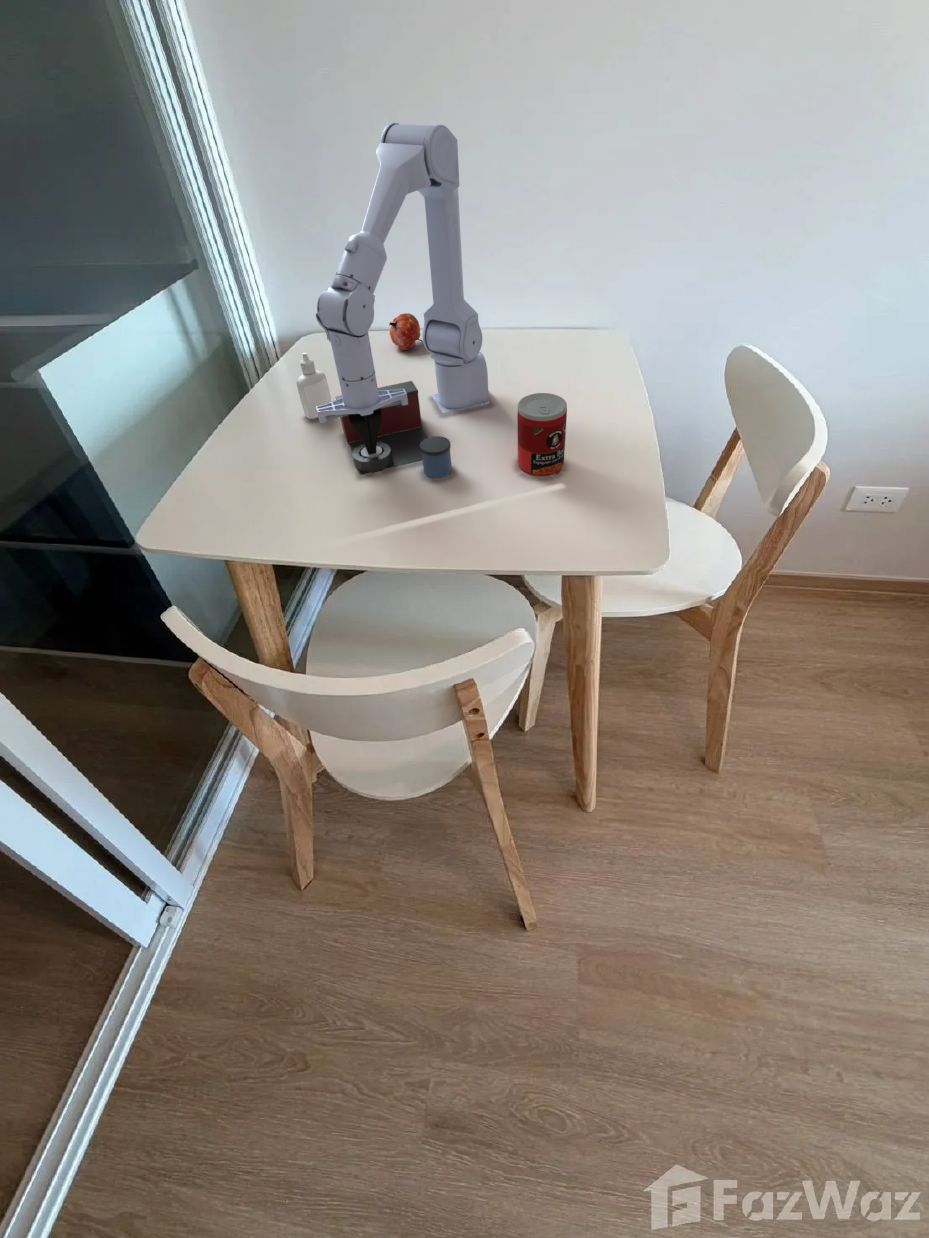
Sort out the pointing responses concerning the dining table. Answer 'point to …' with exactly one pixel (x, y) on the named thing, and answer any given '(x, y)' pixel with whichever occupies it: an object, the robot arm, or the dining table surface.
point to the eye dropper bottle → (312, 388)
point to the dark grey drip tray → (390, 451)
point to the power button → (366, 455)
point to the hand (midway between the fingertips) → (371, 451)
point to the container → (436, 456)
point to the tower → (391, 414)
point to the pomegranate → (405, 331)
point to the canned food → (541, 433)
